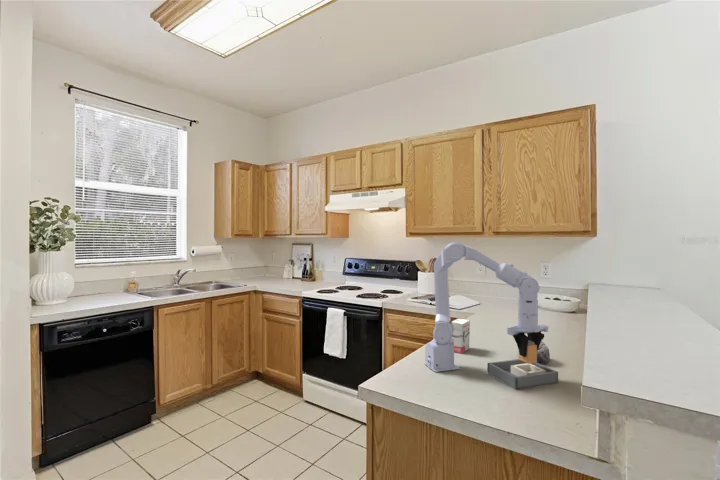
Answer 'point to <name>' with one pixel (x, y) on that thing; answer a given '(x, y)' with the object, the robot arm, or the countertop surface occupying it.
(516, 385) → the walled box
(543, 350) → the pumice stone
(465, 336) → the ink box
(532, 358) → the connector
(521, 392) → the countertop surface
